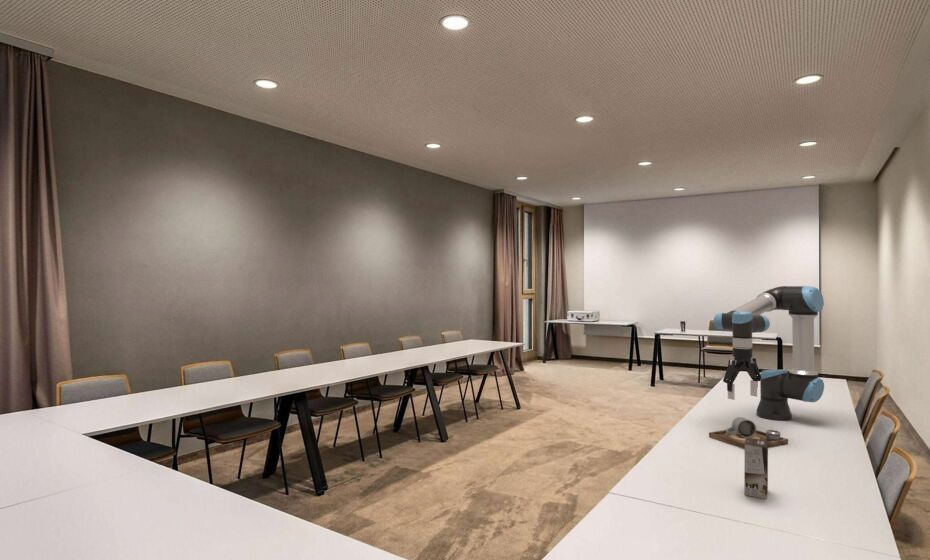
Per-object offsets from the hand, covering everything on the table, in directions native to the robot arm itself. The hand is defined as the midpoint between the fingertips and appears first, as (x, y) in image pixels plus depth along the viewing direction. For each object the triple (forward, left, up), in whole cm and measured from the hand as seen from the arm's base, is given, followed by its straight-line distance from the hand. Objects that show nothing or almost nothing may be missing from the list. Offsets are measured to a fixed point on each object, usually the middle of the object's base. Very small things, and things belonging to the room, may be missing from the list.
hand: (742, 397), depth 224 cm
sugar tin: (-7, +9, -18) cm, 21 cm away
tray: (0, +3, -18) cm, 18 cm away
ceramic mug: (+1, -1, -17) cm, 17 cm away
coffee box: (+45, +42, -18) cm, 64 cm away
